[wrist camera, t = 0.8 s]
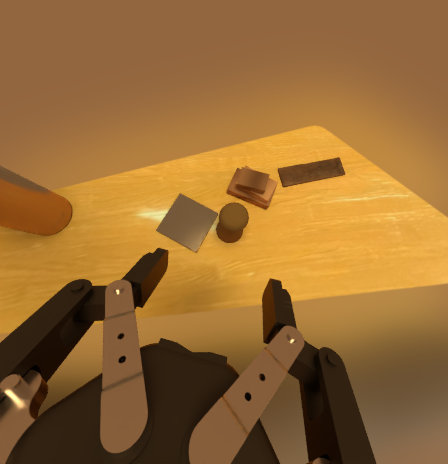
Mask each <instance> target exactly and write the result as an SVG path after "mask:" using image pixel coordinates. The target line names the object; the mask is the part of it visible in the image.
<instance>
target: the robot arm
mask: <svg viewBox="0 0 448 464" xmlns="http://www.w3.org/2000/svg"><path fill="white" fill-rule="evenodd" d="M71 215H72V208H71V205H70V203H69V202H68V201H67V200H66V199H65V198H63V197H61V196H59V195H57V194H55V193H54V192H52V191H50V190H48V189H46V188H44V187H42V186H40V185H38V184H35V183H34V182H32V181H30V180H28V179H26V178H24V177H22V176H20V175H18V174H16V173H14V172H12V171H10V170H8V169H6V168H4V167H2V166H0V226H3V227H7V228H12V229H16V230H20V231H25V232H29V233H34V234H38V235H52V234H55V233H57V232H59V231H61V230H62V229H63V228H64V227H65V226H66V225H67V224H68V222H69V221H70V218H71ZM167 266H168V250H165V249H161V248H157V249H156V251H155V252H154V253H150V252H149V253H148V254H146V255H144V256H143V257H142V258H141V259H140V260H139V261H138V262H137V263H136V265H134V266H133V268H132V269H131V270H130V271H129V272H128V273H127V274H126V275H125V276H124V277H123V278H122V279H121V280H117V281H114V282H112V283H110V284H109V285H108V286H92V283H91V282H90V281H89V280H86V279H79V280H75V281H72V282H70V283H68V284H67V285H66V286H65V287H63V288H62V289H61V290H60V291H59V292H58V293H57V294H55V295H54V296H53V297H52V298H51V299H50V300H49V301H47V302H46V303H45V304H44V305H43V306H42V307H41V308H39V309H38V310H37V311H36V312H35V313H34V314H33V315H31V316H30V317H29V318H28V319H27V320H26V321H25V322H23V323H22V324H21V325H20V326H19V327H18V328H17V329H15V330H14V331H13V332H12V333H11V334H10V335H9V336H8V337H6V338H5V339H4V340H3V341H2V342H1V343H0V464H280V463H279V460H278V458H277V456H276V454H275V452H274V449H273V447H272V445H271V443H270V440H269V438H268V436H267V434H266V432H265V429H264V427H263V426H262V423H261V421H260V418H259V417H260V415H261V414H262V412H263V411H264V409H265V408H266V406H267V404H268V403H269V401H270V400H271V398H272V397H273V395H274V393H275V392H276V390H277V389H278V387H279V385H280V384H281V382H282V381H283V379H284V378H285V376H286V375H287V373H289V374H290V375H292V376H294V377H295V378H296V379H298V380H299V384H300V392H301V400H302V409H303V418H304V425H305V435H306V443H307V451H308V459H309V462H308V463H306V464H376V461H375V458H374V455H373V452H372V449H371V446H370V442H369V440H368V436H367V433H366V430H365V427H364V424H363V421H362V418H361V415H360V412H359V409H358V405H357V402H356V399H355V396H354V393H353V390H352V387H351V384H350V381H349V378H348V375H347V372H346V368H345V365H344V363H343V361H342V359H341V358H340V356H339V355H338V354H336V352H334V351H333V350H332V349H329V348H326V347H323V348H321V349H320V350H319V349H317V348H315V347H314V346H312V345H310V344H308V343H307V342H306V341H305V340H304V338H303V336H302V334H301V333H300V332H299V331H298V330H297V328H296V322H295V318H294V313H293V309H292V304H291V297H290V295H289V293H288V292H287V290H285V289H282V284H281V281H279V280H275V279H271V278H270V280H269V282H268V284H267V286H266V288H265V290H264V293H263V297H262V308H263V339H264V340H263V341H264V343H266V344H268V346H267V347H266V348H264V349H263V350H262V351H261V352H260V353H259V355H258V356H257V357H256V358H255V359H254V360H253V362H252V363H251V364H250V365H249V366H248V367H247V369H246V370H245V371H244V372H243V373H242V374H241V375H240V376H239V375H238V373H237V372H236V370H235V369H234V368H233V367H232V366H230V365H229V364H227V357H225V356H222V355H218V354H214V353H211V352H191V351H189V350H188V349H186V348H184V347H183V346H181V345H180V344H178V343H176V342H173V341H170V340H166V339H163V338H161V339H160V341H159V343H154V344H149V345H146V346H143V347H141V348H140V347H139V340H138V331H137V324H136V316H135V309H136V307H141V308H143V306H144V305H145V303H146V301H147V300H148V298H149V297H150V295H151V294H152V292H153V291H154V289H155V288H156V286H157V285H158V283H159V282H160V280H161V278H162V277H163V275H164V274H165V272H166V270H167ZM103 320H104V322H103V373H101V374H100V375H98V376H97V377H95V378H94V379H92V380H91V381H89V382H88V383H86V384H85V385H83V386H82V387H80V388H79V389H77V390H76V391H74V392H73V393H71V394H70V395H68V396H67V397H65V398H64V399H62V400H61V401H59V402H58V403H56V404H55V405H53V406H52V407H50V408H49V409H47V410H46V411H45V412H43V413H42V414H41V415H40V416H39V417H38V412H39V409H40V407H41V405H42V404H43V402H44V400H45V399H46V397H47V394H48V385H47V381H48V380H49V379H50V378H51V376H52V375H53V374H54V373H55V371H56V370H57V369H58V367H59V366H60V365H61V363H62V362H63V361H64V360H65V358H66V357H67V356H68V354H69V353H70V352H71V351H72V349H73V348H74V347H75V346H76V344H77V343H78V342H79V341H80V339H81V338H82V337H83V335H84V334H85V333H86V332H87V330H88V329H89V328H90V326H91V325H92V324H93V323H94V321H103Z"/></svg>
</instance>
